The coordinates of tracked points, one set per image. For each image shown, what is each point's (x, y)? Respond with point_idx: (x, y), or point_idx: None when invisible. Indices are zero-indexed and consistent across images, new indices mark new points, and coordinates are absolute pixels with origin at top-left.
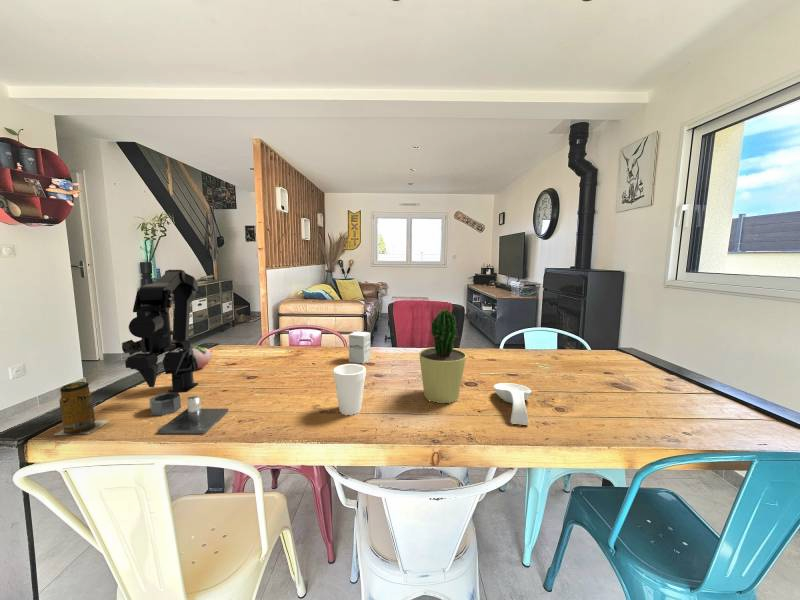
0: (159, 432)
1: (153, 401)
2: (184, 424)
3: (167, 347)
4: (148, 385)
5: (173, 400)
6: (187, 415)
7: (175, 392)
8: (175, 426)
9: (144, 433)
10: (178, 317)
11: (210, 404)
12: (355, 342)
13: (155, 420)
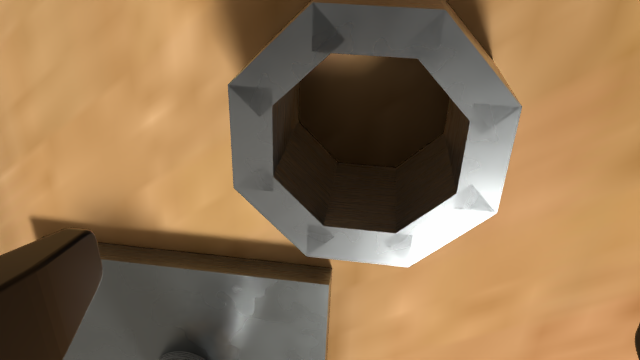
0: None
1: (258, 91)
2: (118, 349)
3: None
4: (39, 241)
5: (308, 249)
6: (224, 324)
7: (497, 193)
8: (87, 318)
9: (28, 155)
10: None
11: (440, 357)
12: None
13: (193, 120)
